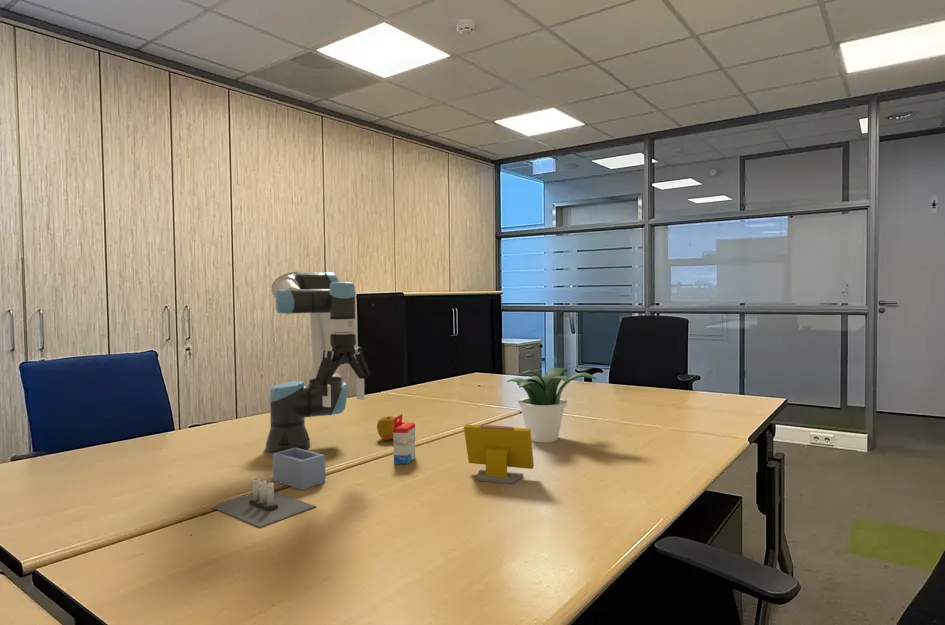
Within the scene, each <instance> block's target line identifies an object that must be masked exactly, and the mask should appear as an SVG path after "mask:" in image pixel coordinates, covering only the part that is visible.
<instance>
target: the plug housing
mask: <svg viewBox="0 0 945 625" xmlns="http://www.w3.org/2000/svg"><path fill="white" fill-rule="evenodd" d="M271 454H272V456H271V457H272V480H274V482H276V483H280V482H281V483H280V484H283V483H284V484H283V485H287V486H288V487H289V486H290V487H292V488H295V489H298V490H301V491H302V490H306V489H309V488H312V487H315V486H319V485H321V484H324V483H326V455H325V454H323V453H319V452H315V451H310V450H307V449H305V450H304V449H300V448H296V447H295V448H292V449H288V450H284V451H280V452H276V453H271Z"/></svg>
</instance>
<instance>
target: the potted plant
mask: <svg viewBox="0 0 945 625" xmlns="http://www.w3.org/2000/svg"><path fill="white" fill-rule="evenodd" d="M568 371H569V370H568V369H567V368H563V367H553V368H550V369H549V370H548V371H547V372H546V373H545V374H544V376H541V375H540V374H539V373H537V372H536V371H534V370H531V369H530V370H529V369H528V370H526V371H523V372H522V373H521V375H523V374H524V375H525V374H533V376H531V378H520V377H515V378H511V379H508V380H506V383H509V382H514V383H517V386H518V388H520V389H521V388H523V390H524V391H525V393H526V394H527V396H528V397H523V398H520V399H518V401H517V402H518V405H519V407H520V408H521V414H522V417H523V422H524V426H525V429H530V430H531V441H532V442H537V443H551V442H552V443H553V442H557V441H558V439H559V434H560V429H561V425H562V420H563V414H564V410H565V408H566V407H567V404H568V401H567V399H564V398H561V396H562V392H563V390H564V389H565V388H566V387H567V385H568V384H569V383H570V382H572V381H573V380H576V379H578V378H589V379H593V380H597V377H595V375H592V374H590V373H588V372H579V373H575V374H574V375H571V376H570V377H569V376H567V375H565V373H567V372H568ZM561 381H563V383H562V384H561ZM560 384H561V386H560V387H559V385H560ZM558 388H559V389H558Z"/></svg>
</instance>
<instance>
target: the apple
mask: <svg viewBox="0 0 945 625" xmlns="http://www.w3.org/2000/svg"><path fill="white" fill-rule="evenodd" d="M396 417H397V416H396ZM396 417H395V416H390V415H388V416H382V417H380V418H379V419H378V421H377V423H376V429H377V433H378V435H379V437H380V439H382V440H383V441H391V440H393V425H394V418H396ZM398 421H399V419H398V420H397V422H398Z"/></svg>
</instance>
